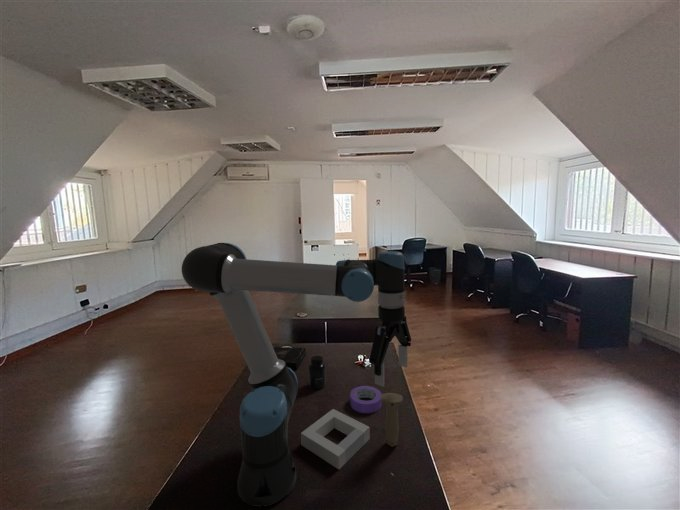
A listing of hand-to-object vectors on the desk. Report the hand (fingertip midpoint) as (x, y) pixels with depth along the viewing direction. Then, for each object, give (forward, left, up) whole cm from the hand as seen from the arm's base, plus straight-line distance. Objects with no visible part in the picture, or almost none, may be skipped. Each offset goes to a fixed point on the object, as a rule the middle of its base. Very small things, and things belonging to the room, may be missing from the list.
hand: (392, 374), depth 91 cm
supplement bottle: (+10, +41, -22) cm, 48 cm away
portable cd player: (+16, +69, -23) cm, 74 cm away
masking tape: (+12, +18, -23) cm, 31 cm away
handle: (0, 0, -22) cm, 22 cm away
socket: (-10, +14, -22) cm, 28 cm away
